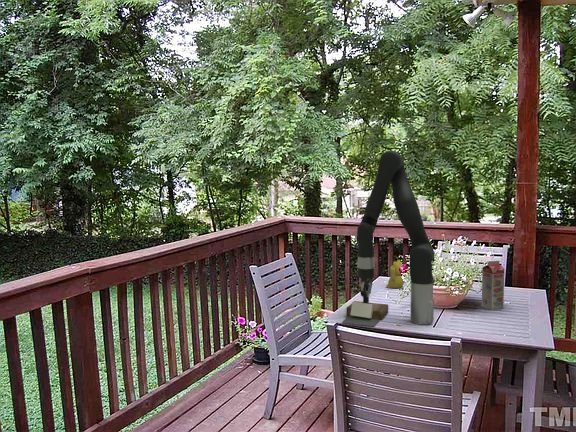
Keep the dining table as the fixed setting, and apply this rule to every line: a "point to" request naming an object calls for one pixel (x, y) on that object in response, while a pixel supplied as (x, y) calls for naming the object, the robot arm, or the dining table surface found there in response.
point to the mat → (360, 321)
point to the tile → (362, 310)
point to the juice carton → (493, 285)
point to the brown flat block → (378, 310)
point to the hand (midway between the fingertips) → (366, 304)
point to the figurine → (395, 276)
